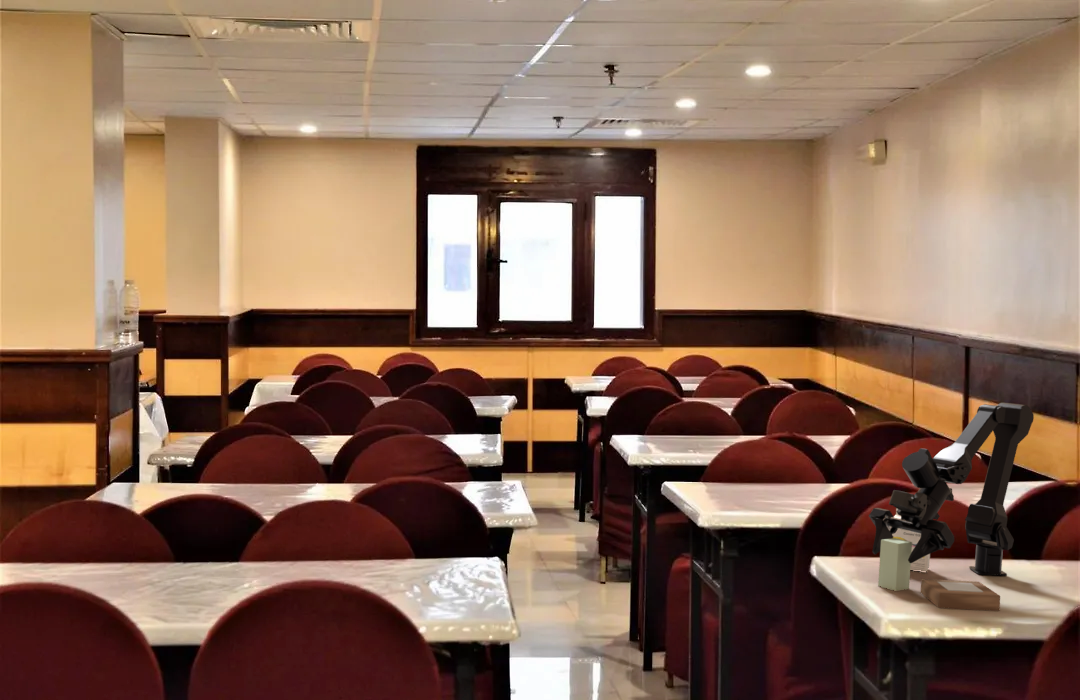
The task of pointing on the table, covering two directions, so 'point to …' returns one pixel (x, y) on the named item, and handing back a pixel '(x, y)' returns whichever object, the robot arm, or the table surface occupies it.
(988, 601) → the walnut base plate
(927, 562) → the ink cartridge box
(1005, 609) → the table surface
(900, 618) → the table surface
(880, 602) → the table surface
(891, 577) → the sage pillar
